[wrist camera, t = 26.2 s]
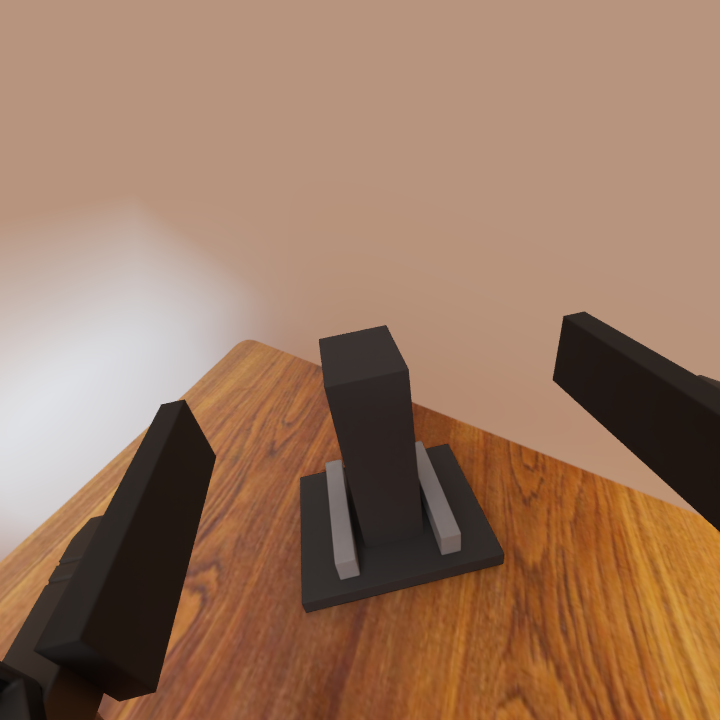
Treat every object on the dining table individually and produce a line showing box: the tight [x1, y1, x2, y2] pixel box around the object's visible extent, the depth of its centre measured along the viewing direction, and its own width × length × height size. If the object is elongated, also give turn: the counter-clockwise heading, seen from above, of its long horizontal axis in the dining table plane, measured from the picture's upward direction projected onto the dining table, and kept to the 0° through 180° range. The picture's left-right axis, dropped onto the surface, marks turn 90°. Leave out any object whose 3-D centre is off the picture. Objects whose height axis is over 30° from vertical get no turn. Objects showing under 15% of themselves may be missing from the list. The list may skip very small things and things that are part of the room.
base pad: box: [300, 441, 504, 613], centre depth 32 cm, size 16×12×4 cm
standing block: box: [319, 325, 424, 548], centre depth 27 cm, size 5×6×17 cm
